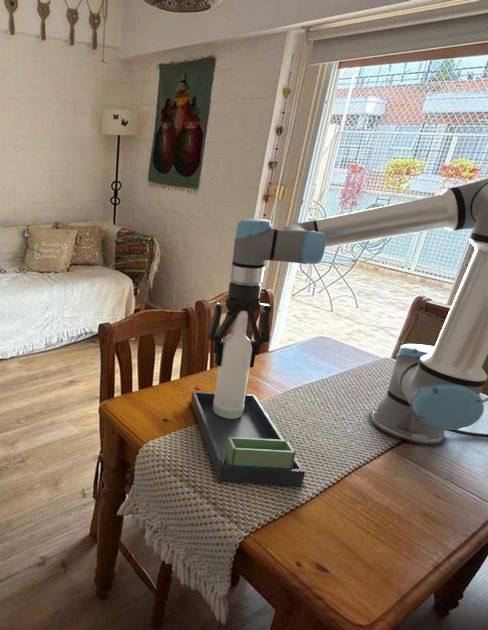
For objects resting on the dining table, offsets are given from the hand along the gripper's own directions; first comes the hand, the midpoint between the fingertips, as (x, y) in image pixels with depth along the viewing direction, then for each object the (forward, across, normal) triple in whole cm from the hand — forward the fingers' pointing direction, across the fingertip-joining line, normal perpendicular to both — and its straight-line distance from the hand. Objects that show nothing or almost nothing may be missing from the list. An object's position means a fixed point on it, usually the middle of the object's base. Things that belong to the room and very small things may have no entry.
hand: (234, 364), depth 117 cm
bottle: (+15, 0, 0) cm, 15 cm away
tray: (+15, 0, +11) cm, 19 cm away
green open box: (+14, 0, +25) cm, 29 cm away
